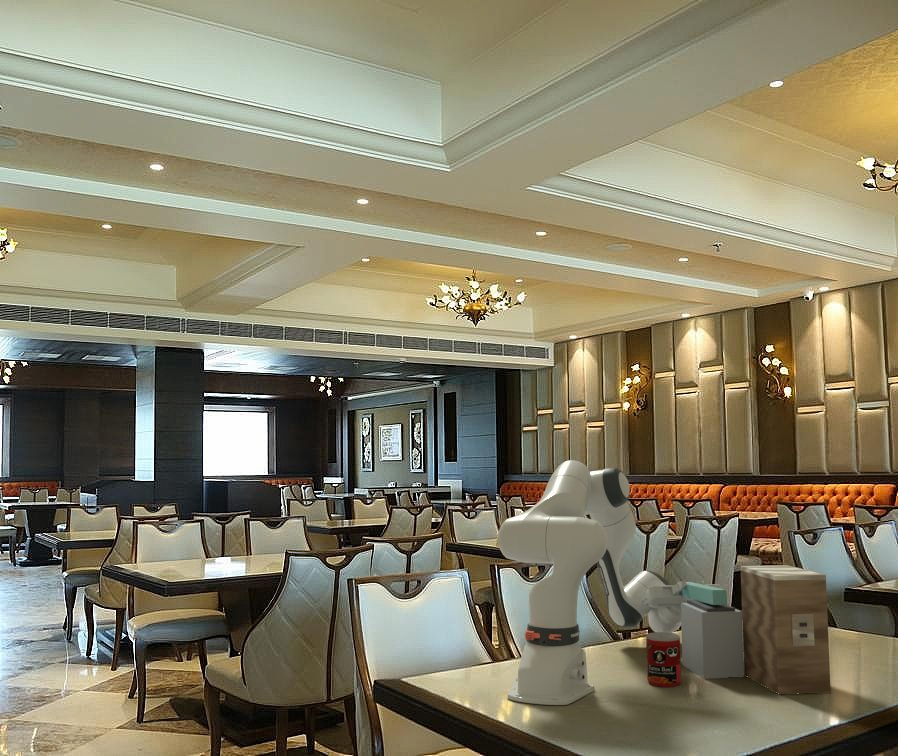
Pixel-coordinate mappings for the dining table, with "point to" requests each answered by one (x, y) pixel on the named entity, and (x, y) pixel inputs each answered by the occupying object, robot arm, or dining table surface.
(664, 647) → the canned food
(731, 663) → the phone dock
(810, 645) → the stand
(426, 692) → the dining table surface
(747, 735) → the dining table surface
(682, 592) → the long teal bar
